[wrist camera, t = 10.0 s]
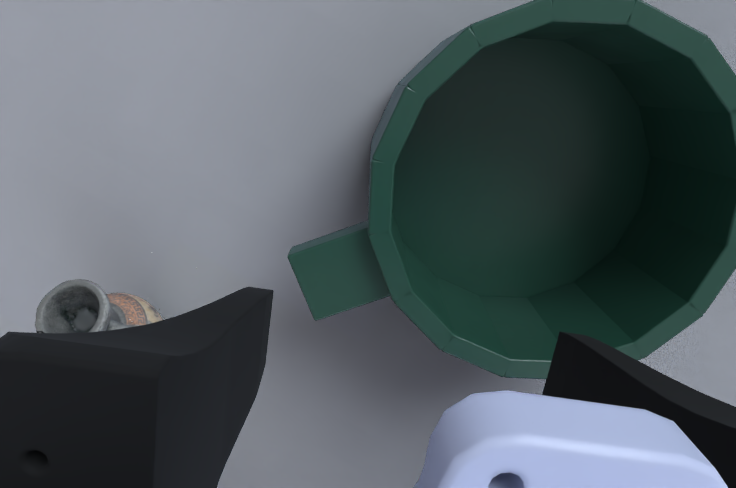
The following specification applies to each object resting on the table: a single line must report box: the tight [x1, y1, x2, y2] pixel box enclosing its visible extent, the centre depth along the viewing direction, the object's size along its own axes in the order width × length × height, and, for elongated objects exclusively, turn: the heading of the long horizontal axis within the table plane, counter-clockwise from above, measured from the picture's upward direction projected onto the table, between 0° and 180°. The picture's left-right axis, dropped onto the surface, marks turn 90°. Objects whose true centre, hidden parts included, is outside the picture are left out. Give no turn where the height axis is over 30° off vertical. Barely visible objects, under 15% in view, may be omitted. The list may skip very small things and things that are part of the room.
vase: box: [35, 268, 197, 333], centre depth 21 cm, size 5×5×6 cm
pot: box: [288, 0, 736, 379], centre depth 19 cm, size 11×17×6 cm
